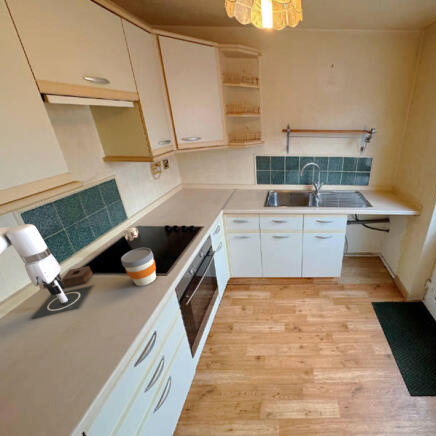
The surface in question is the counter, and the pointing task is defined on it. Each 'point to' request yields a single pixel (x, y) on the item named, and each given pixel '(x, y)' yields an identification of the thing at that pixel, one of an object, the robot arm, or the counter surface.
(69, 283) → the holder
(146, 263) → the reusable coffee cup
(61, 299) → the marker
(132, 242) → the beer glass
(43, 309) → the slate board
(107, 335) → the counter surface
